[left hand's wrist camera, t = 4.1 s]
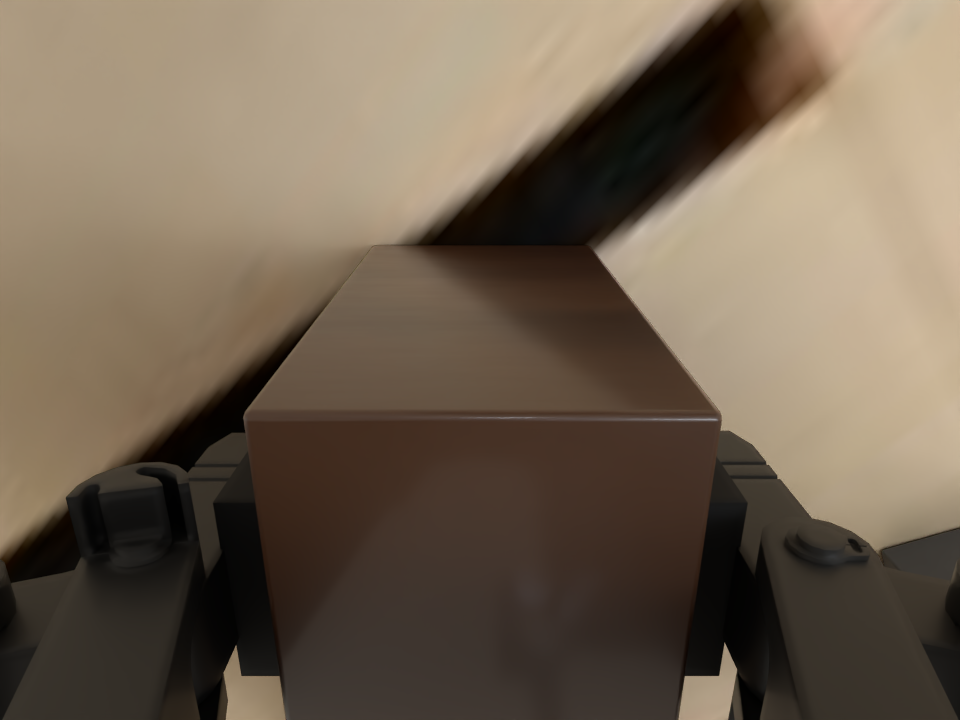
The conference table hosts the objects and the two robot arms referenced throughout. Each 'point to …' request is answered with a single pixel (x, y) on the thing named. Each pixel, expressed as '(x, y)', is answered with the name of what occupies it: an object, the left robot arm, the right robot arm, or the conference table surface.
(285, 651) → the walnut bar
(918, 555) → the charcoal cube
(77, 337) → the conference table surface
